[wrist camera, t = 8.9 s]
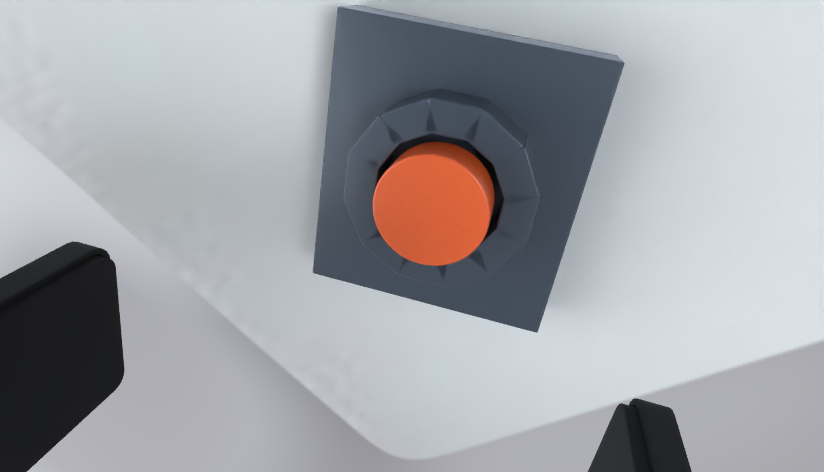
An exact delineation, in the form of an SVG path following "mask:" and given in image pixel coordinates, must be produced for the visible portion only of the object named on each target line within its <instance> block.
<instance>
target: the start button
mask: <svg viewBox="0 0 824 472" xmlns="http://www.w3.org/2000/svg"><path fill="white" fill-rule="evenodd" d="M494 197H495V195H494V187H493V183H492V180H491V178H490V175H489V173H488V171H487V170H486V168H485V167H484V165H483V164H482V163H481V161H480V160H479V159H478V158H477V157H476V156H474V155H473V154H472V153H471V152H469V151H467V150H466V149H464V148H462V147H460V146H457V145H454V144H451V143H446V142H426V143H422V144H419V145H416V146H414V147H412V148H410V149H408V150H407V151H405V152H404V153H403V154H401V155H400V156H399V157H398V158H397V159H396V161H395V162H394V163H393V164H392V165H391V166H390V167H389V168H388V169H387V170H386V171H385V173H384V174H383V175H382V177H381V178H380V180H379V182H378V184H377V186H376V189H375V191H374V196H373V215H374V220H375V223H376V226H377V228H378V230H379V232H380V234H381V236H382V237H383V239H384V240H385V241H386V243H387V244H388V245H389V246H390V247H391V248H392V249H393V250H394V251H395V252H397V253H398V254H399V255H401V256H403V257H404V258H406V259H408V260H410V261H413V262H416V263H419V264H423V265H431V266H441V265H447V264H451V263H455V262H457V261H460V260H462V259H464V258H465V257H467V256H469V255H470V254H471V253H472V252H474V251H475V250H476V248H477V247H478V246H479V245H480V244H481V242H482V241H483V239H484V237H485V235H486V233H487V230H488V227H489V223H490V219H491V215H492V212H493V207H494Z"/></svg>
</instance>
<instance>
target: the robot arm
mask: <svg viewBox="0 0 824 472" xmlns="http://www.w3.org/2000/svg"><path fill="white" fill-rule="evenodd" d="M123 375H124V361H123V349H122V337H121V325H120V314H119V303H118V289H117V278H116V267H115V263H114V262H113V261H112V260H111V259H110V256H109V254H108V253H107V251H105V250H103V249H101V248H97V247H94V246H90V245H87V244H83V243H79V242H70V243H67V244H65V245H63V246H61V247H59V248H58V249H56V250H54V251H52V252H50V253H48V254H46V255H44V256H42V257H40V258H38V259H36V260H35V261H33V262H31V263H29V264H27V265H25V266H23V267H21V268H19V269H17V270H15V271H14V272H12V273H10V274H8V275H6V276H4V277H2V278H0V472H27V471H28V470H29V469H30V468H31V467H32V466H33V465H34V464H36V463H37V462H38V461H39V460H40V459H41V458H42V457H43V456H44V455H45V454H46V453H47V452H49V451H50V450H51V449H52V448H53V447H54V446H55V445H56V444H57V443H58V442H59V441H60V440H62V439H63V438H64V437H65V436H66V435H67V434H68V433H69V432H70V431H71V430H72V429H73V428H74V427H76V426H77V425H78V424H79V423H80V422H81V421H82V420H83V419H84V418H85V417H87V416H88V415H89V414H90V413H91V412H92V411H93V410H94V409H95V408H96V407H97V406H98V405H99V404H101V403H102V402H103V401H104V400H105V399H106V398H107V397H108V396H109V395H110V394H111V393H113V392H114V391H115V390H116V388H117V387H118V386H119V385H120V383H121V381H122V379H123ZM588 472H691V468H690V465H689V462H688V458H687V455H686V452H685V448H684V445H683V442H682V438H681V435H680V432H679V428H678V425H677V422H676V418H675V415H674V413H673V410H672V409H671V408H669V407H665V406H662V405H658V404H655V403H651V402H647V401H644V400H640V399H637V398H636V399H633V400H632V401H631V402H630V404H629V405H625V404H622V403H621V404H619V405H618V406H617V408H616V410H615V412H614V414H613V417H612V419H611V421H610V423H609V425H608V428H607V430H606V432H605V434H604V437H603V439H602V441H601V443H600V446H599V448H598V450H597V452H596V455H595V457H594V459H593V462H592V464H591V466H590V468H589V471H588Z"/></svg>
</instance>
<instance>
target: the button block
mask: <svg viewBox="0 0 824 472" xmlns="http://www.w3.org/2000/svg"><path fill="white" fill-rule="evenodd" d="M623 66H624V62H623V61H622V60H621V59H620V58H619V57H618V56H617V55H612V54H607V53H601V52H596V51H591V50H586V49H581V48H576V47H571V46H565V45H560V44H555V43H550V42H545V41H540V40H534V39H529V38H524V37H519V36H514V35H509V34H503V33H498V32H493V31H488V30H483V29H478V28H472V27H467V26H462V25H457V24H452V23H447V22H441V21H436V20H431V19H426V18H421V17H416V16H410V15H405V14H400V13H395V12H390V11H385V10H379V9H374V8H369V7H364V6H359V5H355V6H341V7H338V11H337V21H336V32H335V43H334V53H333V64H332V74H331V85H330V96H329V106H328V117H327V127H326V138H325V149H324V159H323V170H322V181H321V191H320V202H319V212H318V223H317V234H316V244H315V255H314V266H313V273H315V274H319V275H323V276H327V277H330V278H334V279H338V280H342V281H345V282H349V283H353V284H357V285H360V286H364V287H368V288H372V289H375V290H379V291H383V292H387V293H390V294H394V295H398V296H402V297H405V298H409V299H413V300H417V301H420V302H424V303H428V304H432V305H435V306H439V307H443V308H447V309H450V310H454V311H458V312H461V313H465V314H469V315H473V316H476V317H480V318H484V319H488V320H491V321H495V322H499V323H503V324H506V325H510V326H514V327H518V328H521V329H525V330H529V331H533V332H538V329H539V326H540V323H541V320H542V317H543V314H544V311H545V308H546V305H547V301H548V298H549V295H550V292H551V289H552V286H553V283H554V280H555V277H556V274H557V271H558V267H559V264H560V261H561V258H562V255H563V252H564V249H565V246H566V243H567V240H568V237H569V233H570V230H571V227H572V224H573V221H574V218H575V215H576V212H577V209H578V206H579V202H580V199H581V196H582V193H583V190H584V187H585V184H586V181H587V178H588V175H589V172H590V168H591V165H592V162H593V159H594V156H595V153H596V150H597V147H598V144H599V141H600V137H601V134H602V131H603V128H604V125H605V122H606V119H607V116H608V113H609V110H610V107H611V103H612V100H613V97H614V94H615V91H616V88H617V85H618V82H619V79H620V76H621V73H622V69H623ZM426 142H446V143H451V144H454V145H457V146H460V147H462V148H464V149H466V150H467V151H469V152H471V153H472V154H473V155H474V156H476V157H477V158H478V159H479V160H480V161H481V163H482V164H483V165H484V167H485V168H486V170H487V171H488V173H489V175H490V178H491V180H492V183H493V187H494V195H495V197H494V207H493V212H492V215H491V219H490V223H489V227H488V230H487V233H486V235H485V237H484V239H483V241H482V242H481V244H480V245H479V246H478V247H477V248H476V250H475V251H474V252H472V253H471V254H470V255H469V256H467V257H465V258H464V259H462V260H460V261H457V262H455V263H451V264H447V265H441V266H431V265H423V264H419V263H416V262H413V261H410V260H408V259H406V258H404V257H403V256H401V255H399V254H398V253H397V252H395V251H394V250H393V249H392V248H391V247H390V246H389V245H388V244H387V243H386V241H385V240H384V239H383V237H382V236H381V234H380V232H379V230H378V228H377V226H376V223H375V220H374V215H373V196H374V191H375V189H376V186H377V184H378V182H379V180H380V178H381V177H382V175H383V174H384V173H385V171H386V170H387V169H388V168H389V167H390V166H391V165H392V164H393V163H394V162H395V161H396V159H397V158H398V157H399V156H400V155H401V154H403V153H404V152H405V151H407V150H408V149H410V148H412V147H414V146H416V145H419V144H422V143H426Z"/></svg>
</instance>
